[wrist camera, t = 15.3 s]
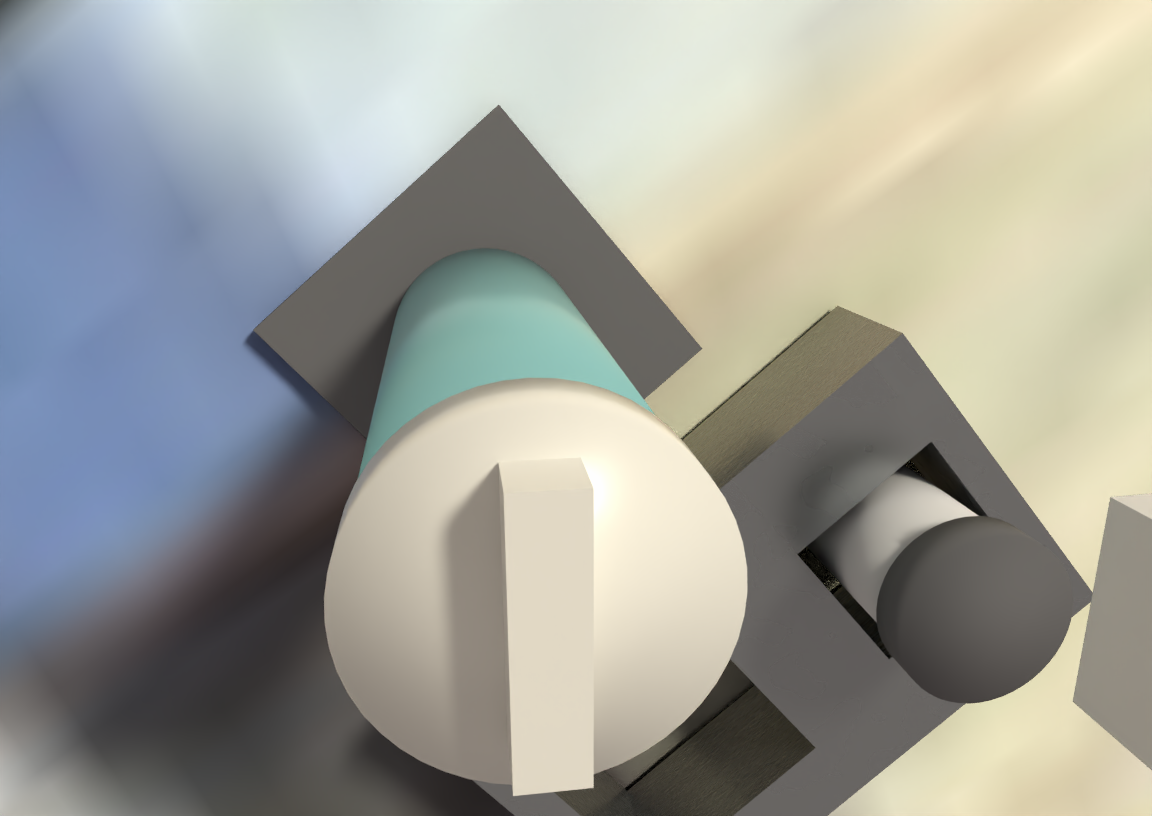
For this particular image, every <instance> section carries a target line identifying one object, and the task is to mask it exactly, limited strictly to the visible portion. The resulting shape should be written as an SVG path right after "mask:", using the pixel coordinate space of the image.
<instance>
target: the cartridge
mask: <svg viewBox="0 0 1152 816" xmlns="http://www.w3.org/2000/svg"><path fill="white" fill-rule="evenodd" d="M746 599H747V564H746V558H745V552H744V545H743V541H742V538H741V535H740V532H739V529H738V525H737V522H736V519H735V517H734V515H733V513H732V511H731V509H730V507H729V505H728V503H727V501H726V499H725V497H724V496H723V494H722V493H721V491H720V490H719V488H718V487H717V485H716V484H715V482H714V481H713V480H712V478H711V477H710V475H709V474H708V473H707V471H706V470H705V469H704V468H703V466H702V465H701V464H700V462H699V461H698V460H697V458H696V457H695V456H694V454H693V453H692V452H691V451H690V449H689V448H688V447H687V445H686V444H685V443H684V442H683V441H682V440H681V439H680V438H679V437H678V435H677V434H676V433H675V432H674V431H673V430H672V429H671V428H670V427H669V426H668V425H666V424H665V423H664V422H663V421H662V420H660V419H659V418H658V417H657V416H656V415H655V414H654V413H653V411H652V410H651V409H650V407H649V406H648V405H647V403H646V402H645V401H644V399H643V398H642V396H641V395H640V394H639V392H638V391H637V390H636V388H635V387H634V386H633V384H632V383H631V382H630V380H629V379H628V377H627V376H626V375H625V373H624V372H623V371H622V369H621V368H620V367H619V365H618V364H617V363H616V361H615V360H614V358H613V357H612V356H611V354H610V353H609V352H608V350H607V349H606V348H605V346H604V345H603V344H602V342H601V341H600V339H599V338H598V337H597V335H596V334H595V333H594V331H593V330H592V329H591V327H590V326H589V325H588V323H587V322H586V320H585V319H584V318H583V316H582V315H581V314H580V312H579V311H578V310H577V308H576V307H575V306H574V304H573V303H572V301H571V300H570V299H569V297H568V296H567V295H566V293H565V292H564V291H563V289H562V288H561V287H560V285H559V284H558V283H557V281H556V280H555V279H554V278H553V277H552V276H551V275H550V274H549V273H548V272H547V271H546V270H544V269H543V268H542V267H541V266H539V265H538V264H536V263H535V262H533V261H532V260H530V259H528V258H526V257H523V256H521V255H519V254H516V253H513V252H509V251H505V250H500V249H489V248H480V249H470V250H466V251H461V252H457V253H455V254H452V255H449V256H447V257H445V258H443V259H441V260H439V261H437V262H435V263H434V264H433V265H431V266H430V267H428V268H427V269H426V270H425V271H424V272H422V273H421V274H420V275H419V276H418V277H417V278H416V279H415V281H414V282H413V283H412V284H411V286H410V287H409V288H408V290H407V292H406V293H405V295H404V297H403V299H402V301H401V303H400V305H399V308H398V311H397V314H396V318H395V322H394V326H393V330H392V334H391V339H390V343H389V347H388V352H387V356H386V360H385V364H384V369H383V373H382V377H381V382H380V386H379V390H378V394H377V399H376V403H375V407H374V412H373V416H372V420H371V424H370V429H369V433H368V437H367V442H366V446H365V450H364V454H363V459H362V463H361V467H360V472H359V476H358V480H357V481H356V483H355V485H354V487H353V489H352V491H351V494H350V496H349V498H348V500H347V502H346V505H345V507H344V511H343V514H342V518H341V521H340V525H339V528H338V532H337V536H336V540H335V544H334V548H333V552H332V556H331V560H330V564H329V568H328V572H327V579H326V587H325V594H324V619H325V629H326V634H327V640H328V646H329V650H330V653H331V656H332V659H333V662H334V665H335V668H336V671H337V673H338V675H339V677H340V679H341V681H342V683H343V685H344V687H345V689H346V691H347V693H348V695H349V696H350V698H351V699H352V700H353V702H354V703H355V705H356V706H357V707H358V709H359V710H360V712H361V713H362V714H363V715H364V717H365V718H366V719H367V720H368V721H369V722H370V723H371V724H372V725H373V726H374V727H375V728H376V729H377V730H378V731H379V732H380V733H381V734H382V735H383V736H385V737H386V738H387V739H388V740H390V741H391V742H392V743H393V744H395V745H396V746H397V747H398V748H400V749H401V750H403V751H405V752H406V753H408V754H410V755H411V756H413V757H415V758H416V759H418V760H420V761H421V762H424V763H426V764H428V765H430V766H433V767H435V768H437V769H439V770H442V771H444V772H447V773H450V774H454V775H457V776H460V777H464V778H467V779H471V780H477V781H482V782H488V783H493V784H508V785H512V791H513V796H519V795H529V794H538V793H548V792H558V791H568V790H578V789H587V788H594V774H596V773H599V772H601V771H604V770H606V769H609V768H612V767H614V766H617V765H619V764H622V763H623V762H625V761H627V760H629V759H631V758H633V757H635V756H637V755H639V754H641V753H643V752H644V751H646V750H647V749H649V748H650V747H652V746H653V745H655V744H656V743H658V742H659V741H661V740H662V739H664V738H665V737H667V736H668V735H669V734H670V733H671V732H672V731H674V730H675V729H676V728H677V727H678V726H680V725H681V724H682V723H683V722H684V721H685V720H686V719H687V718H688V717H689V716H690V715H691V714H692V713H693V712H694V711H695V710H696V709H697V708H698V707H699V706H700V704H701V703H702V702H703V701H704V699H705V698H706V697H707V695H708V694H709V693H710V691H711V690H712V689H713V687H714V686H715V685H716V683H717V682H718V680H719V678H720V676H721V675H722V673H723V671H724V669H725V668H726V666H727V664H728V662H729V660H730V658H731V655H732V653H733V650H734V648H735V646H736V643H737V641H738V638H739V634H740V630H741V627H742V623H743V619H744V615H745V607H746Z"/></svg>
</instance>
